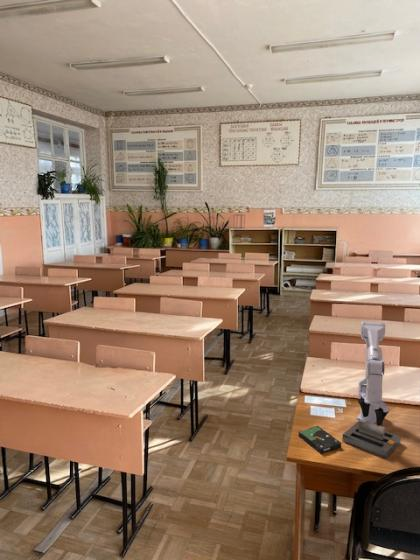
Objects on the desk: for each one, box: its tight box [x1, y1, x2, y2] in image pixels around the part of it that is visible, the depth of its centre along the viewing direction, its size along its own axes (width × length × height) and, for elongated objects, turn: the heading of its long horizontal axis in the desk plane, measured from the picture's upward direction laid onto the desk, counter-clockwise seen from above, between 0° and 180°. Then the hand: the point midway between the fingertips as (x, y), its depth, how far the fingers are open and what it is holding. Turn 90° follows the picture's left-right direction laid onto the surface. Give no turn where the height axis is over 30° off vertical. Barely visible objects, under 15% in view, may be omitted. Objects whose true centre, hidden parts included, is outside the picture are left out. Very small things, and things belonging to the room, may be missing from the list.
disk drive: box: [298, 425, 342, 455], centre depth 174 cm, size 10×3×15 cm
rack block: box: [341, 421, 402, 459], centre depth 173 cm, size 14×18×3 cm
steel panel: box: [358, 419, 386, 442], centre depth 172 cm, size 2×10×7 cm, turn 46°
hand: (372, 420), depth 171 cm, fingers open, 7 cm apart
